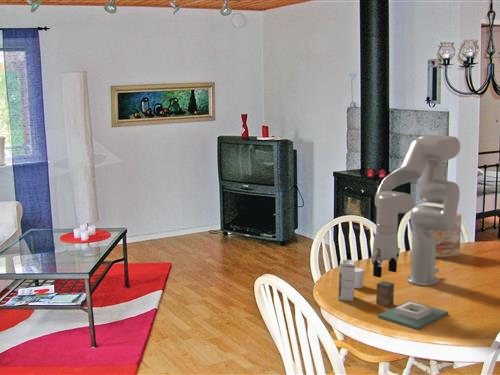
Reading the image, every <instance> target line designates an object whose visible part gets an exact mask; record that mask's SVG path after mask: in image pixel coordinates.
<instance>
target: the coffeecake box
mask: <svg viewBox="0 0 500 375" xmlns="http://www.w3.org/2000/svg"><path fill="white" fill-rule="evenodd" d="M462 216H463V215H462V214H461V213H457V214H456V220H455V225H454V227H453V229H452V230H451V231H450V232H440V231H433V230H432V231H433V233H434V235H435V238H436V258H445V257H447V258H449V257H457V256H458V257H459V256H460V250H461V247H460V246H461V231H462Z"/></svg>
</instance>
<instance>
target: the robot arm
mask: <svg viewBox="0 0 500 375" xmlns="http://www.w3.org/2000/svg"><path fill="white" fill-rule="evenodd" d="M460 149H461V142H460V140H459V139H458V137H456V136H450V135H437V134H423V135H420V136H418V137H417V138H415V139H413V140H412V141H411V143H410V144H409V147H408V149H407V152H406V154H405V156H404V158H403V160H402V162H401V165H400V167H399V168H396V169H395V170H394V171H392V172H390V173H389V174H388V175H386V176H385V177H384V178H383V179H382V180H381V183H380V184H379V186H378V188H377V191H376V193H375V197H374V205H375V207H376V209H377V210H376V224H375V225H376V230H375V231H376V232H375V234H374V237H373V238H374V239H373V242H372V243H373V244H372V245H373V246H372V254H371V255H370V260H371V263H372V266H373V269H372V270H373V271H372V275H373V277H376V278H382V270H383V269H382V268H383V266H382V263H383V262H385V261H388V266H387V267H388V269H387V271H388V272H391V273H397V270H398V269H397V267H398V266H397V264H398V261H399V259H398V258H399V256H400V251H401V248H400V247H399V246H398V245H399V244H398V243H399V242H398V240H399V239H398V222H399V214H407V213H409V212H410V223H411V224H410V226H411V232H412V233H411V234H412V235H411V240H412V241H411V262H410V264H411V265H410V274H409V275H407V277H406V281H407V282H408V283H410V284H412V285H415V286H422V287H424V286H427V287H429V286H435V285H437V284H438V283H439V277H437V276H436V275H437V273H439V272H440V269H439V268H437V267H436V258H437V257H436V238H435V235H434V233H433V231H440V232H450V231H451V230H452V229H453V227H454V225H455V220H456V214H457V212H458V210H459V209H458V207H459V203H460V202H459V201H460V192H461V191H460V187H459V185H458V183H456V182H454V181H450V180H444V176H445V165H444V164H443V162H446V161H449V160H451V159H454V158H457V156H458V155H459V153H460ZM419 179H420V184H419V189H418V196H419V197H418V198H419V199H420V201H422V202H424V203H430V204H436V205H437V204H438V205H443V207H439V206H433V205H426V204H423V205H422V204H421V205H419V204H418V205H416V206H414V204H415V199H414V197H413V195H411V194H409V193H406V192H402V191H395V190H394V189H395V188H396V187H399V186H401V185H404V184H407V183H411V182H414V181H417V180H419ZM392 190H393V191H392ZM432 230H433V231H432Z"/></svg>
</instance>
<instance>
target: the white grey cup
mask: <svg viewBox="0 0 500 375" xmlns="http://www.w3.org/2000/svg"><path fill="white" fill-rule="evenodd" d="M365 271H366V270H365V269H364V268H362V267H356V266H355V277H354V289H355V288H357V289H361V288H363V287H364V280H365Z"/></svg>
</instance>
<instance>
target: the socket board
mask: <svg viewBox="0 0 500 375" xmlns="http://www.w3.org/2000/svg"><path fill="white" fill-rule="evenodd" d="M447 315H449V311H448V310H444V309H441V308H437V307H433V306H429V305H426V304H423V303H419V302H415V301H411V300H408V301H406V302H404V303H401V304H399V305H396V306H394V307H392V308H390V309H388V310H386V311H384V312H381V313H380V314H377V318H379V319H382V320H385V321H387V322H391V323H395V324H398V325H401V326H404V327H408V328H410V329H415V330H417V331H418V330H420V329H422V328H424V327H427V326H428V325H430V324H432V323H434V322H436V321H437V320H440V319H442V318H443V317H446V316H447Z"/></svg>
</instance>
